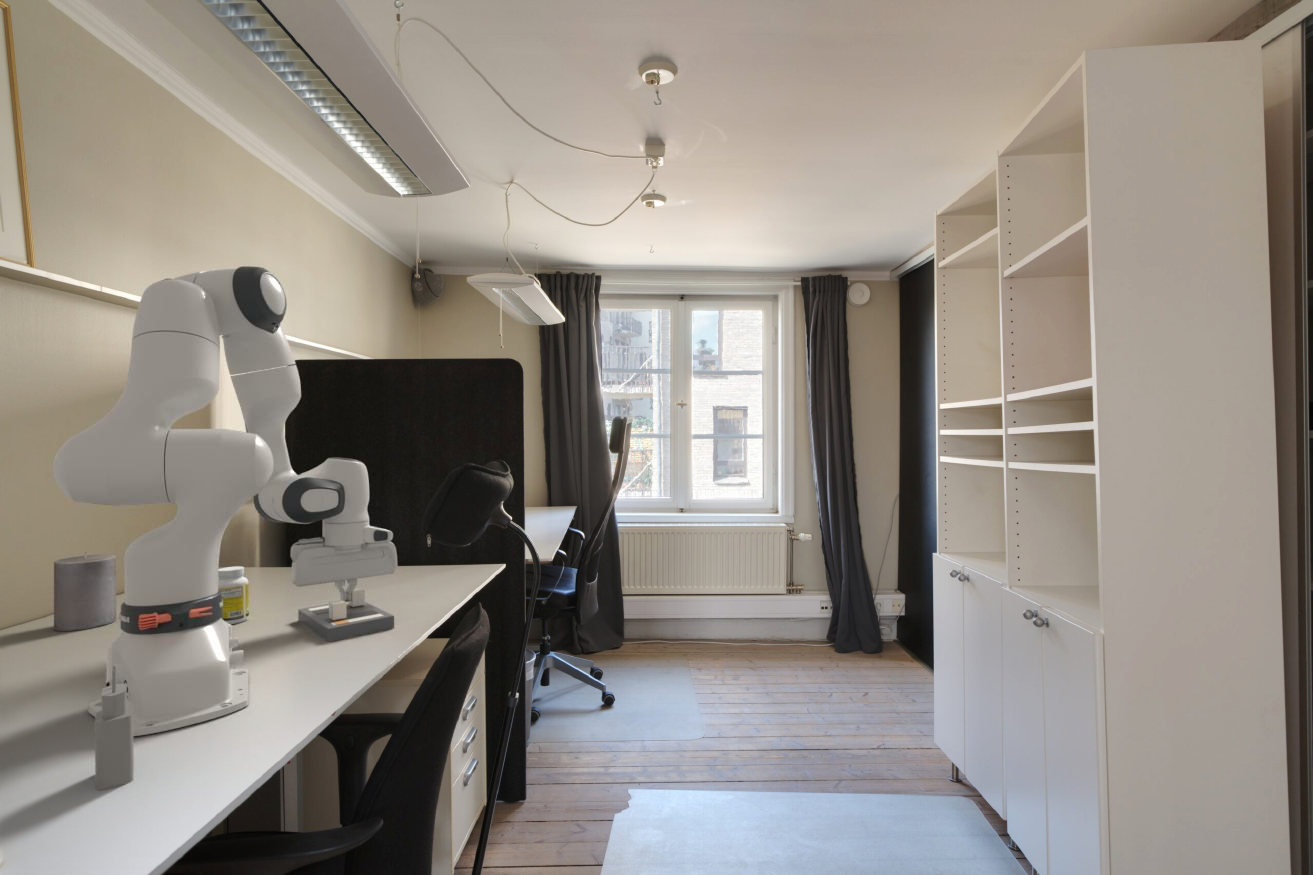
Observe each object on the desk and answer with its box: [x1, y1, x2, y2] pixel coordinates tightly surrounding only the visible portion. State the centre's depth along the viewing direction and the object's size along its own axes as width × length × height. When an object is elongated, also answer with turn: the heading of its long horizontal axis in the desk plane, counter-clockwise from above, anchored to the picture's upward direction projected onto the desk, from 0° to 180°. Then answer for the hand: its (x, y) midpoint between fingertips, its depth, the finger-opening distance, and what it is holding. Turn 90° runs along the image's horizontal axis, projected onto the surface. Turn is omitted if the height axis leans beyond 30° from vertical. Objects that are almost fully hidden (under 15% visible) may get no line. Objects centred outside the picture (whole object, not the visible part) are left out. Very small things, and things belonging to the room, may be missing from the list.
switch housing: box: [297, 601, 395, 642], centre depth 129 cm, size 20×12×2 cm, turn 43°
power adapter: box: [94, 666, 135, 791], centre depth 71 cm, size 3×5×12 cm, turn 39°
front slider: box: [328, 599, 346, 620], centre depth 125 cm, size 3×2×3 cm
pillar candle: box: [53, 551, 117, 632], centre depth 132 cm, size 10×10×15 cm
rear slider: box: [349, 588, 366, 607], centre depth 135 cm, size 3×2×3 cm
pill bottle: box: [218, 565, 250, 625], centre depth 133 cm, size 6×6×11 cm
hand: (346, 601), depth 133 cm, fingers closed
